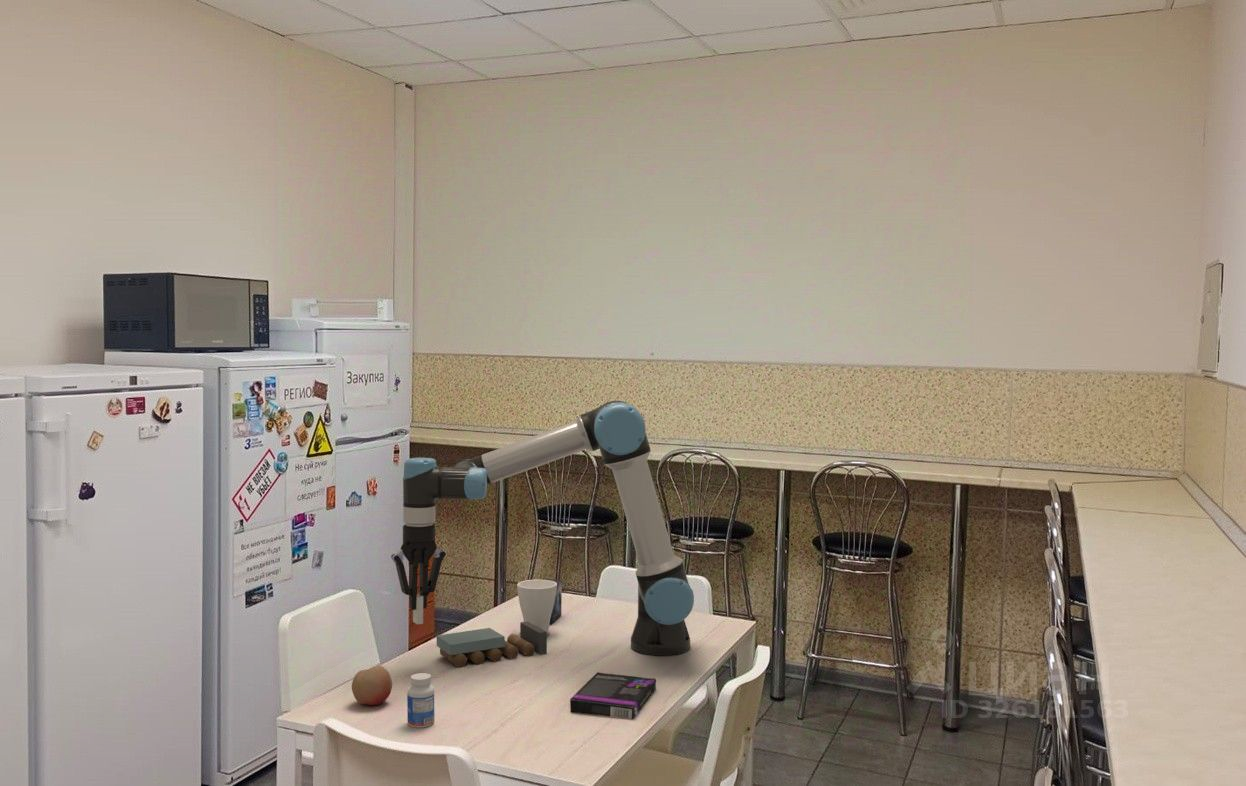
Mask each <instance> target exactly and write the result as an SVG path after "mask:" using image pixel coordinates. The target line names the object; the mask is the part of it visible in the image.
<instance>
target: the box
mask: <svg viewBox="0 0 1246 786" xmlns="http://www.w3.org/2000/svg"><path fill="white" fill-rule="evenodd" d="M656 690H657V679H656V678H655V677H654V678H653V677H651V678H649V677H641V676H635V675H624V674H614V673H607V672H606V673H604V672H599V671H597V672H596V673H595V674H594V675H593V676H592V677H591V678H590V679H589V680H588V681H587V682H586V683H584V685H583V686H582V687H581V688H580V689H578V690H577V692H576V693H575V694H573V696H572V697H570V699H569V706H570V707H569V708H570V709H569V711H570V713H573V714H583V715H590V716H591V715H592V716H600V717H611V718H616V719H617V718H619V719H626V720H627V719H629V720H634V719H635V718H636V717H637V715H638V714H639V713H640V711H641V709H643V707H644V706H645V704H647V702H648V700H649V699H650V698H651V697H652V695H653V694H654V693H655V691H656Z"/></svg>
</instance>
